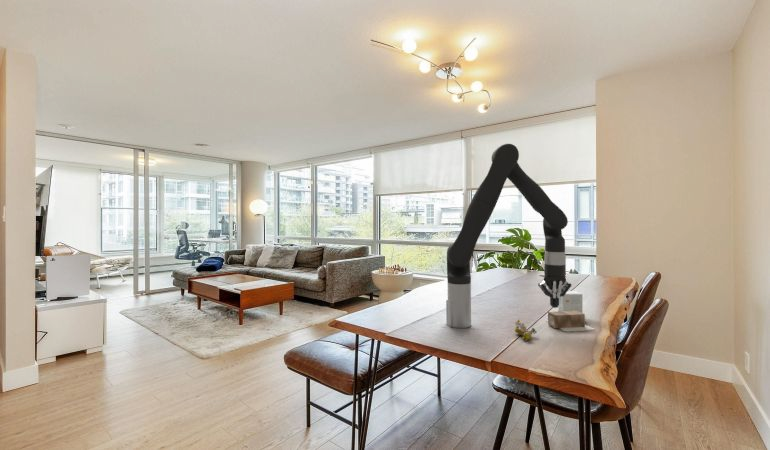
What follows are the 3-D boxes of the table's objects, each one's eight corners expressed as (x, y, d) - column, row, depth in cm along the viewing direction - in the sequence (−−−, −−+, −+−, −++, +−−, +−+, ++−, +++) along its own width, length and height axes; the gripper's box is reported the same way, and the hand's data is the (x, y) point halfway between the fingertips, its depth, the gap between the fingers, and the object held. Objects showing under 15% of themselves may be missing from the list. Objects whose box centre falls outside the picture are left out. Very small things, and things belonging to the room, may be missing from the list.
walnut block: (555, 315, 136) (584, 314, 137) (548, 311, 140) (576, 310, 142) (555, 328, 136) (584, 326, 137) (548, 324, 141) (576, 323, 142)
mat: (565, 331, 133) (565, 330, 133) (546, 321, 146) (546, 320, 146) (595, 329, 134) (595, 329, 134) (573, 319, 147) (573, 319, 147)
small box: (577, 315, 154) (577, 291, 154) (582, 318, 148) (582, 293, 148) (557, 314, 155) (557, 290, 155) (563, 318, 149) (562, 293, 149)
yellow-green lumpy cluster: (529, 323, 137) (540, 334, 122) (520, 334, 138) (531, 345, 123) (518, 315, 138) (528, 324, 123) (509, 325, 138) (518, 336, 123)
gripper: (544, 264, 133) (543, 310, 134) (576, 263, 135) (576, 309, 135) (533, 262, 141) (533, 305, 141) (565, 261, 142) (564, 304, 143)
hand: (554, 307), depth 138 cm, fingers closed
